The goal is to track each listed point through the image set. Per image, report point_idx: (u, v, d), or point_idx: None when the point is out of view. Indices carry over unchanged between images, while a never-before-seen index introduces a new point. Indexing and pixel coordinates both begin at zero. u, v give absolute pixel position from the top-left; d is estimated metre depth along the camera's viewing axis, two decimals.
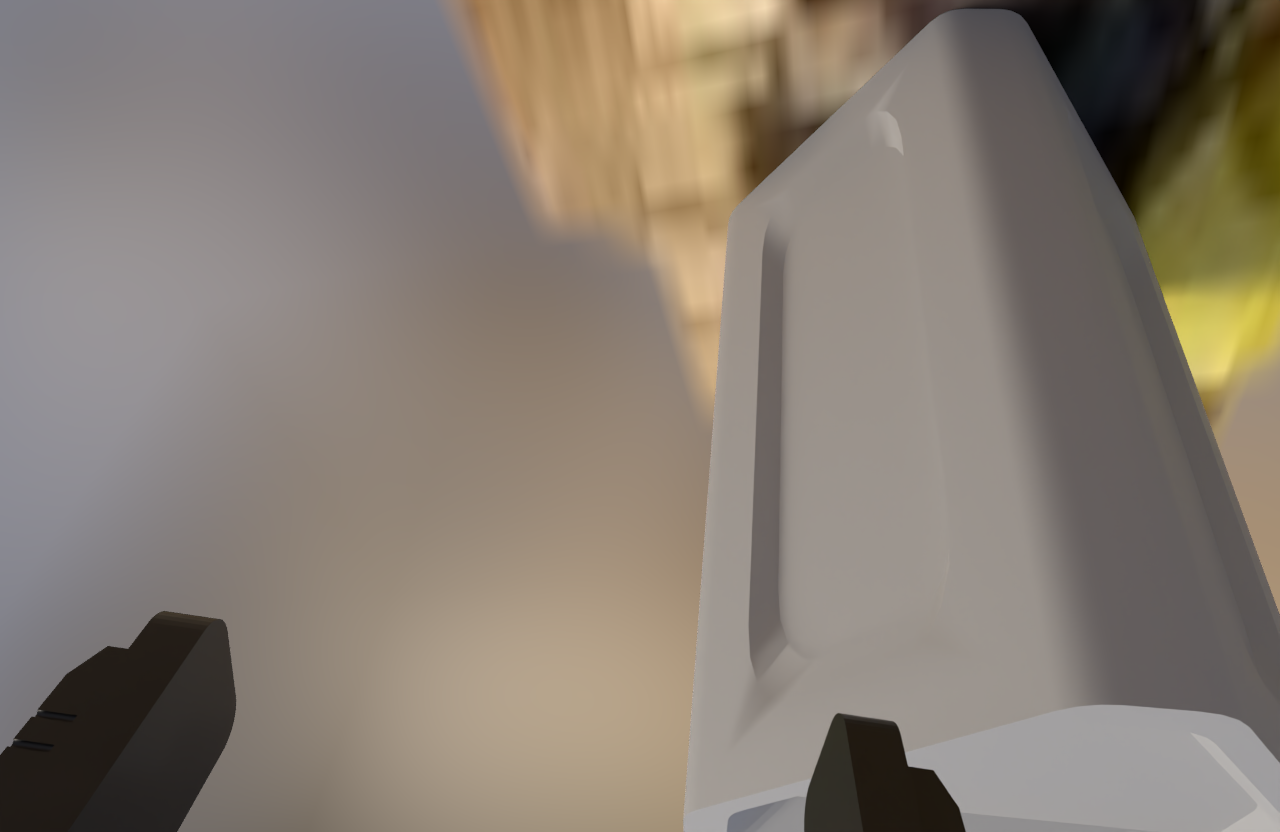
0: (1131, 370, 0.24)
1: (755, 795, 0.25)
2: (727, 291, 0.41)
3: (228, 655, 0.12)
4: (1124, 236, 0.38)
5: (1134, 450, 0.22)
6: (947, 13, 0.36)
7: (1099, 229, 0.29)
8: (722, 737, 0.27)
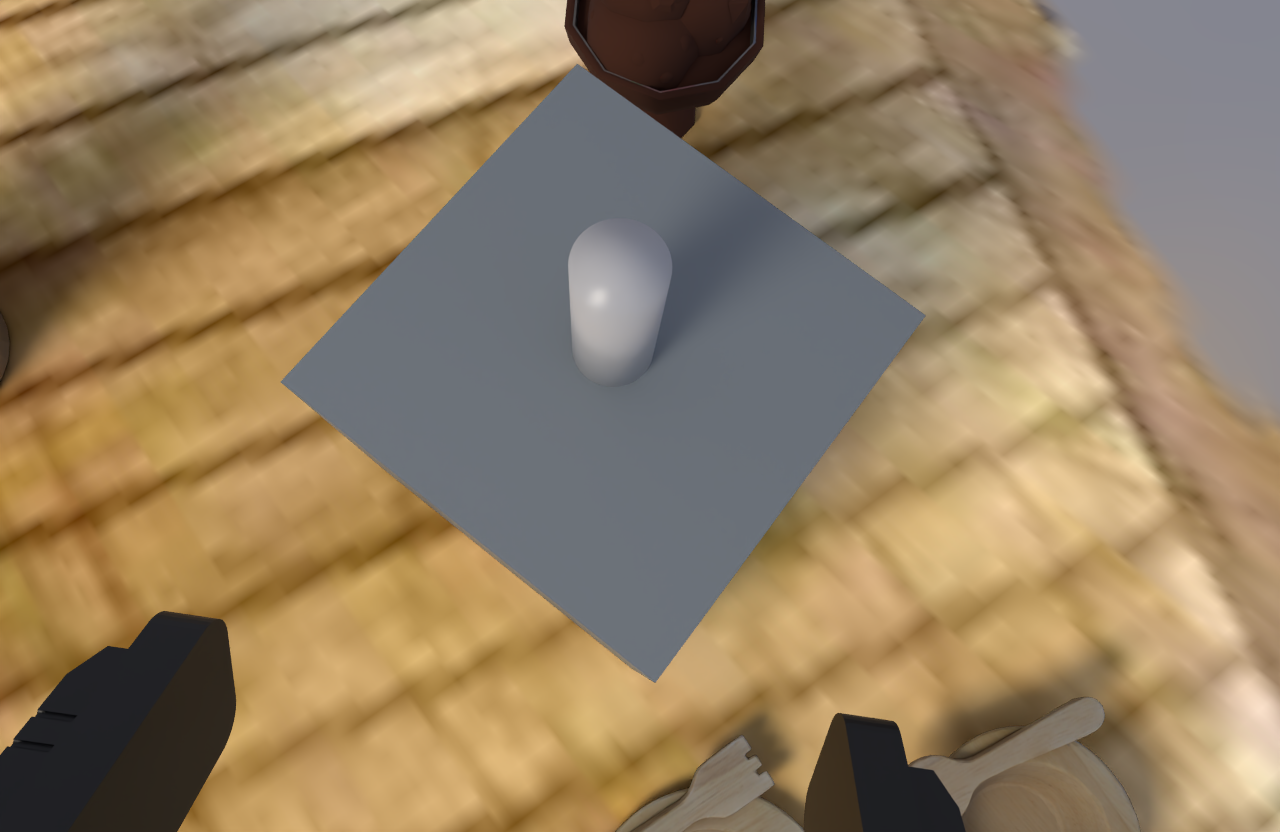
0: None
1: None
2: None
3: (228, 655, 0.12)
4: None
5: None
6: None
7: None
8: None
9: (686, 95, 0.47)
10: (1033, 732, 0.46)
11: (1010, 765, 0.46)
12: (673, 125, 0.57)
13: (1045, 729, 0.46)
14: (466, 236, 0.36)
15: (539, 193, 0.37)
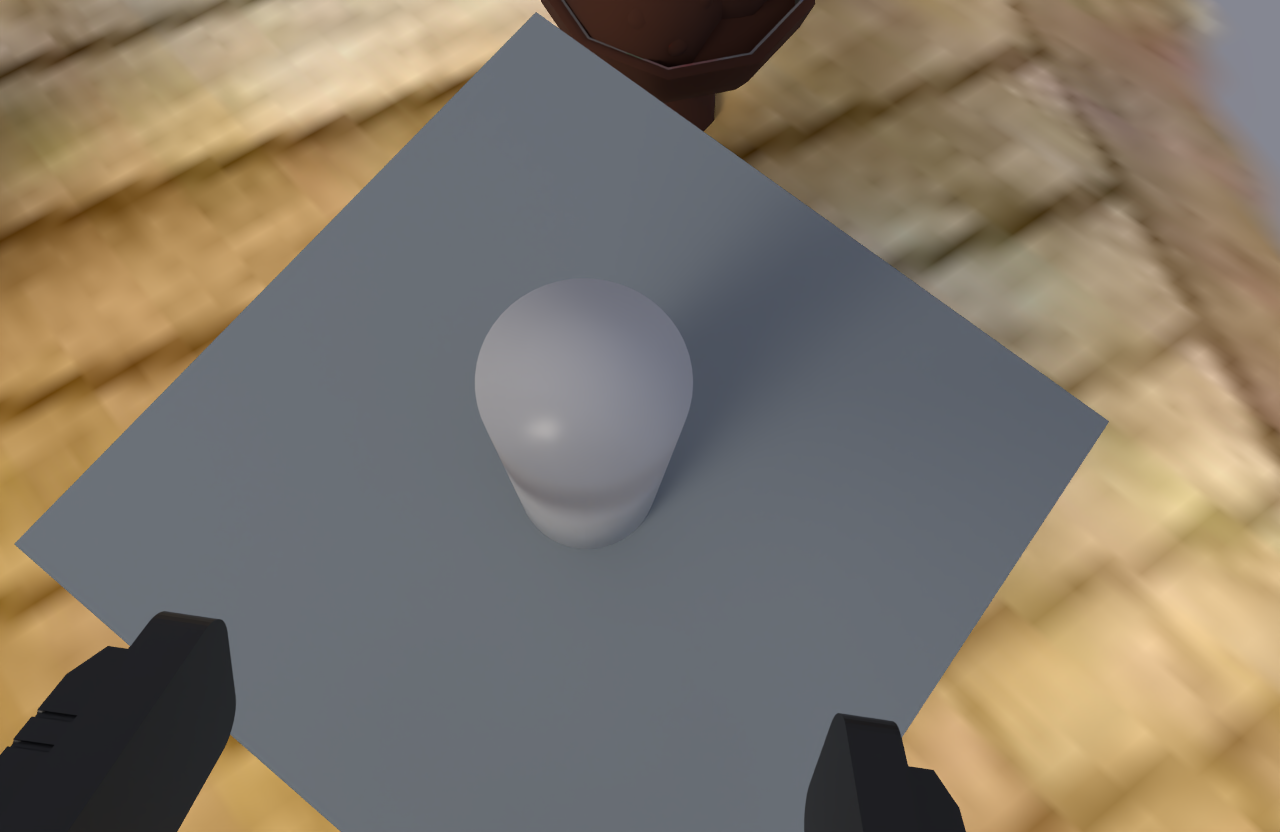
0: None
1: None
2: None
3: (228, 655, 0.12)
4: None
5: None
6: None
7: None
8: None
9: (706, 73, 0.33)
10: None
11: None
12: None
13: None
14: (346, 290, 0.22)
15: (469, 219, 0.23)
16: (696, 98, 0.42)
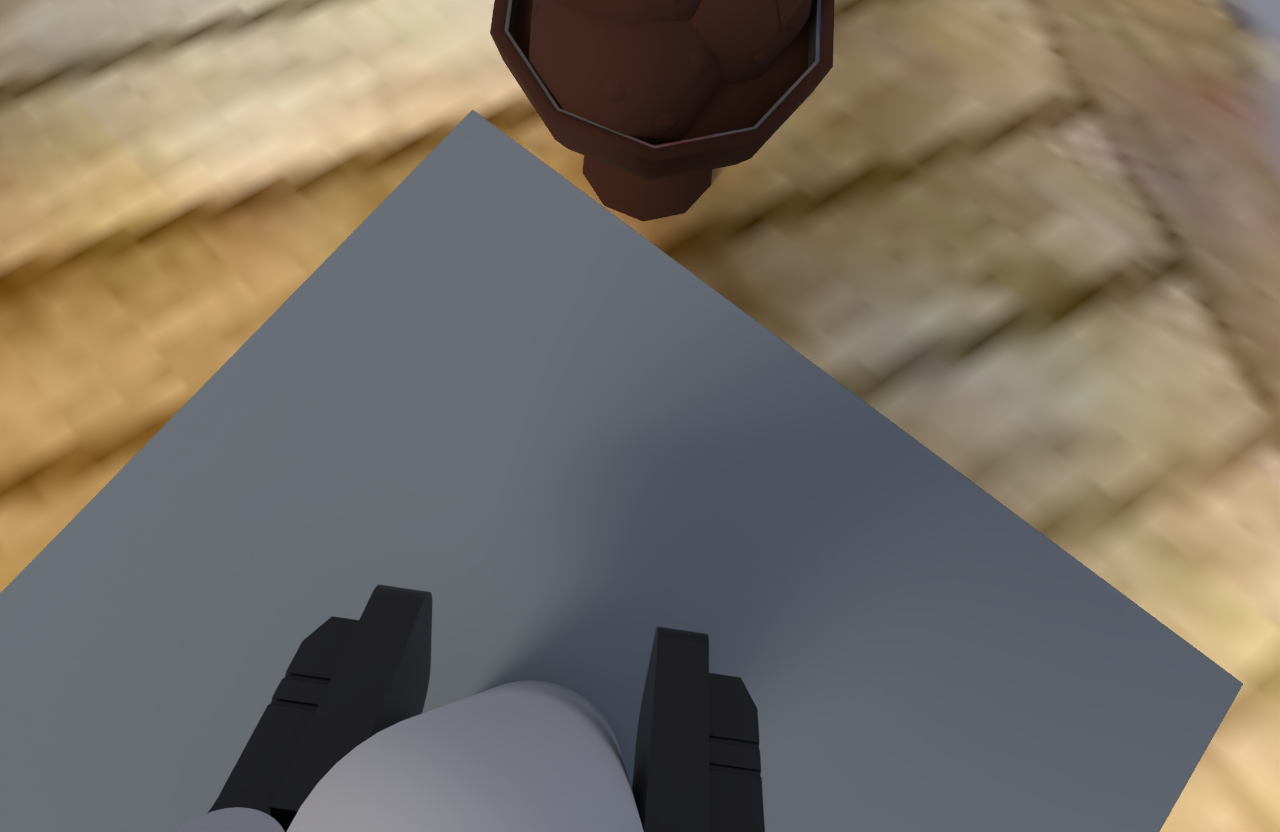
0: None
1: None
2: None
3: (430, 626, 0.13)
4: None
5: None
6: None
7: None
8: None
9: (700, 152, 0.27)
10: None
11: None
12: (678, 188, 0.36)
13: None
14: (203, 503, 0.16)
15: (376, 399, 0.17)
16: None
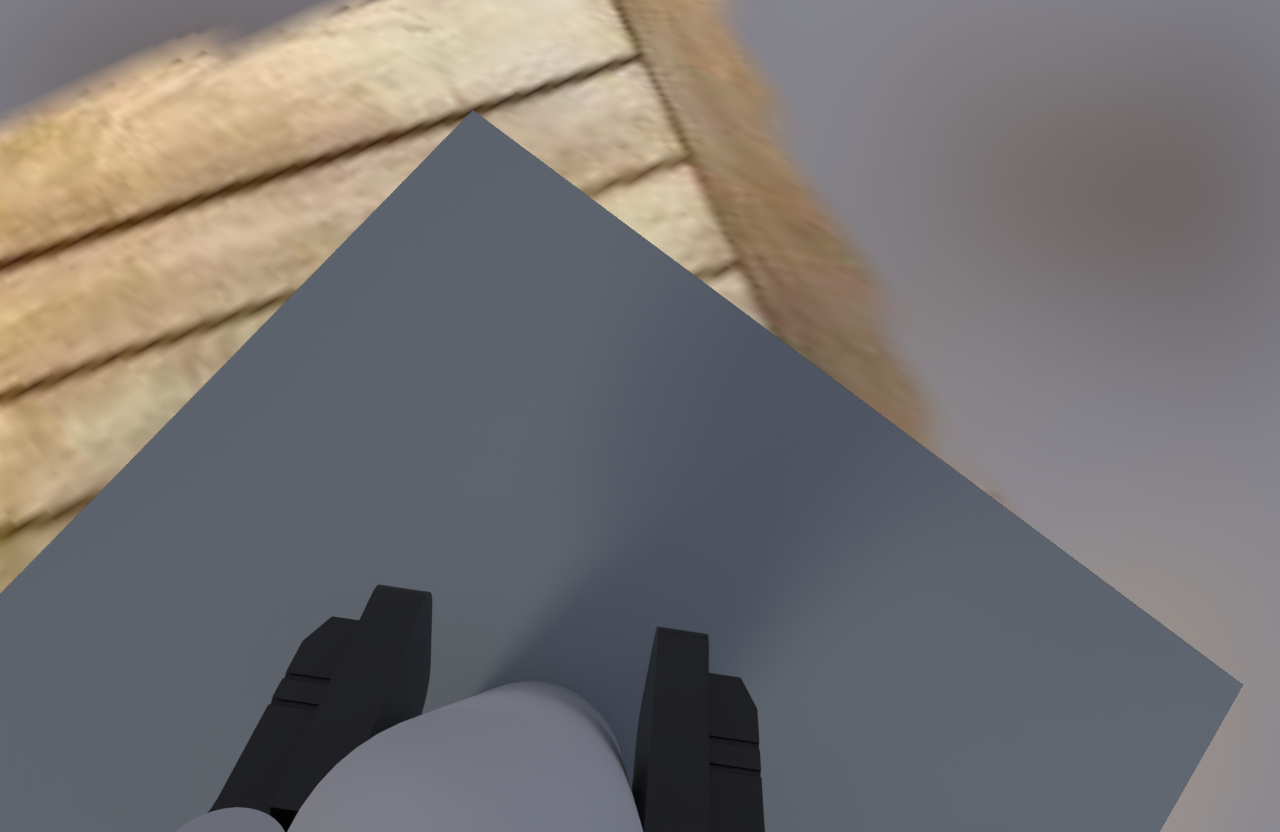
0: None
1: None
2: None
3: (430, 626, 0.13)
4: None
5: None
6: None
7: None
8: None
9: None
10: None
11: None
12: None
13: None
14: (203, 503, 0.16)
15: (376, 399, 0.17)
16: None
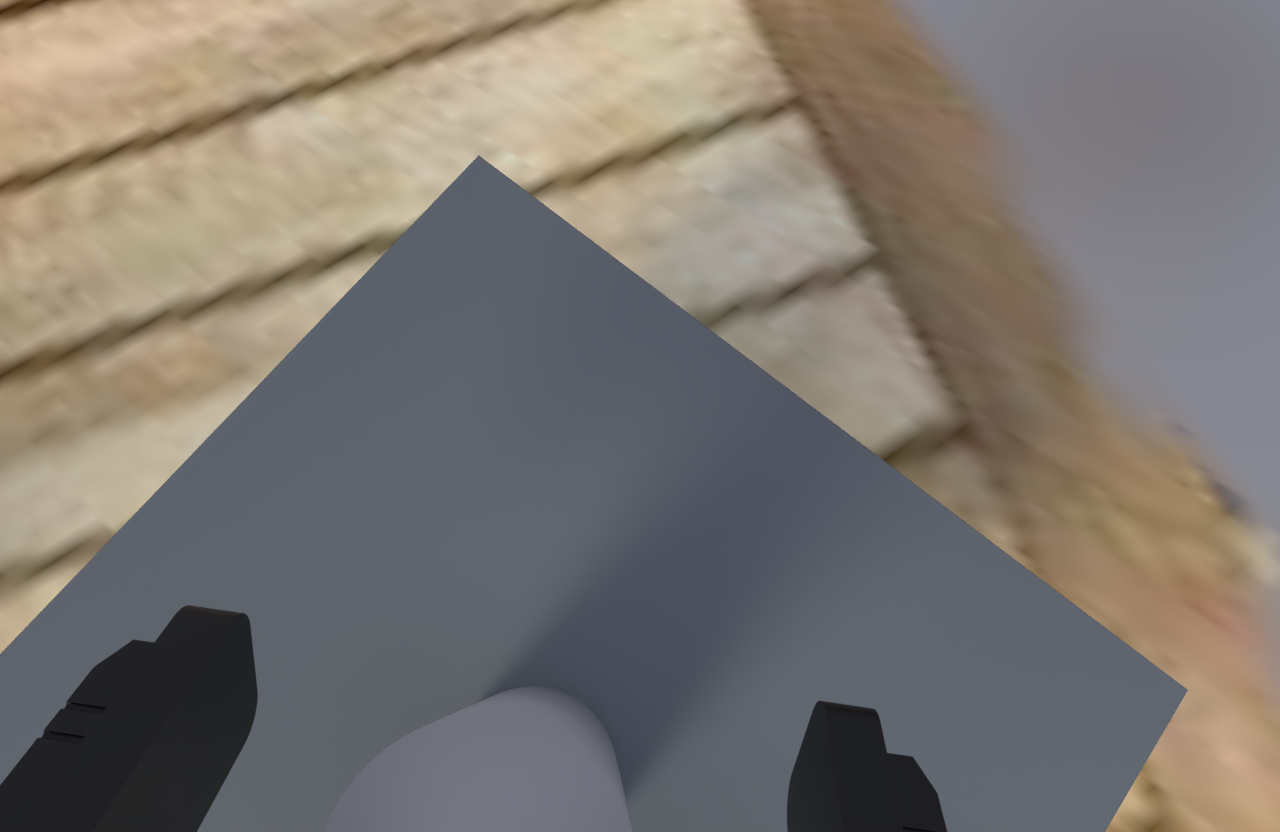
0: None
1: None
2: None
3: (250, 649, 0.12)
4: None
5: None
6: None
7: None
8: None
9: None
10: None
11: None
12: None
13: None
14: (231, 523, 0.17)
15: (389, 426, 0.18)
16: None
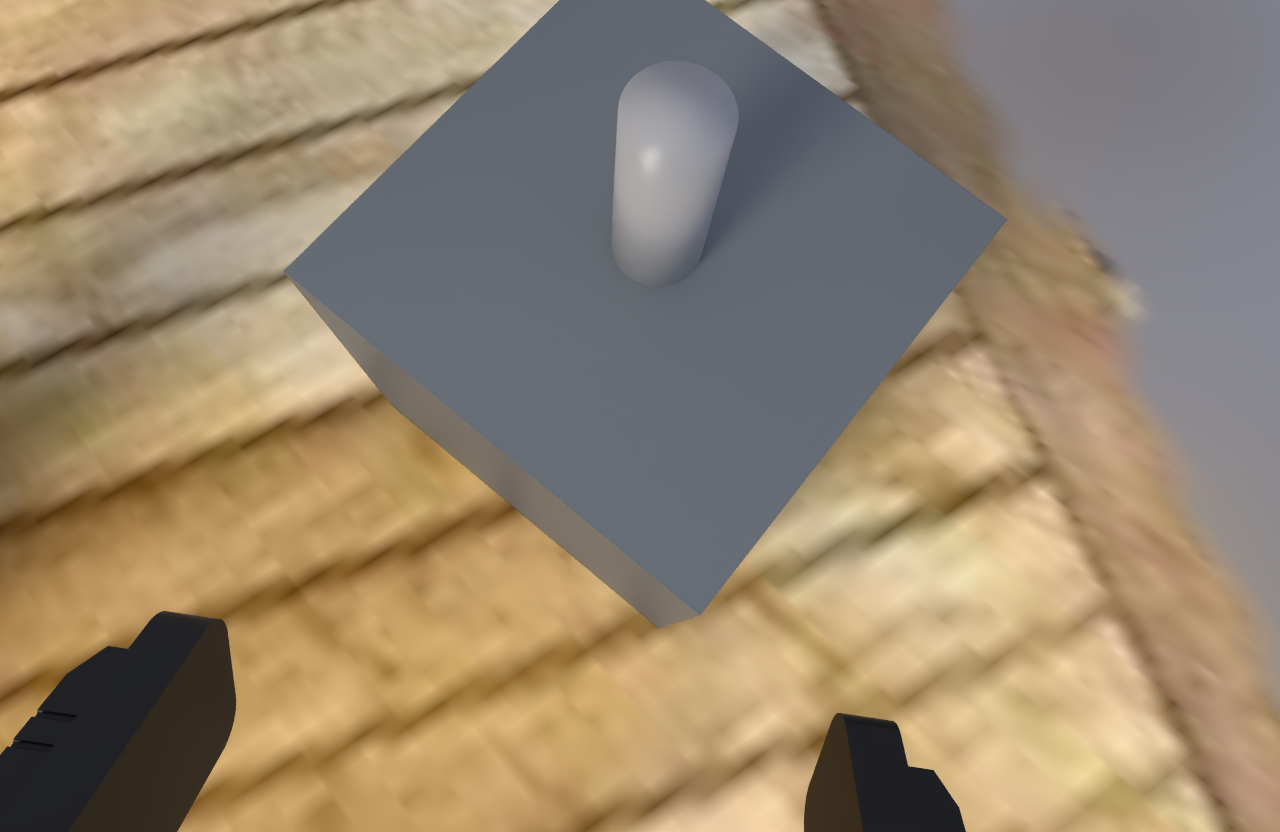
0: None
1: None
2: None
3: (227, 655, 0.12)
4: None
5: None
6: None
7: None
8: None
9: None
10: None
11: None
12: None
13: None
14: (495, 120, 0.33)
15: (577, 76, 0.33)
16: None
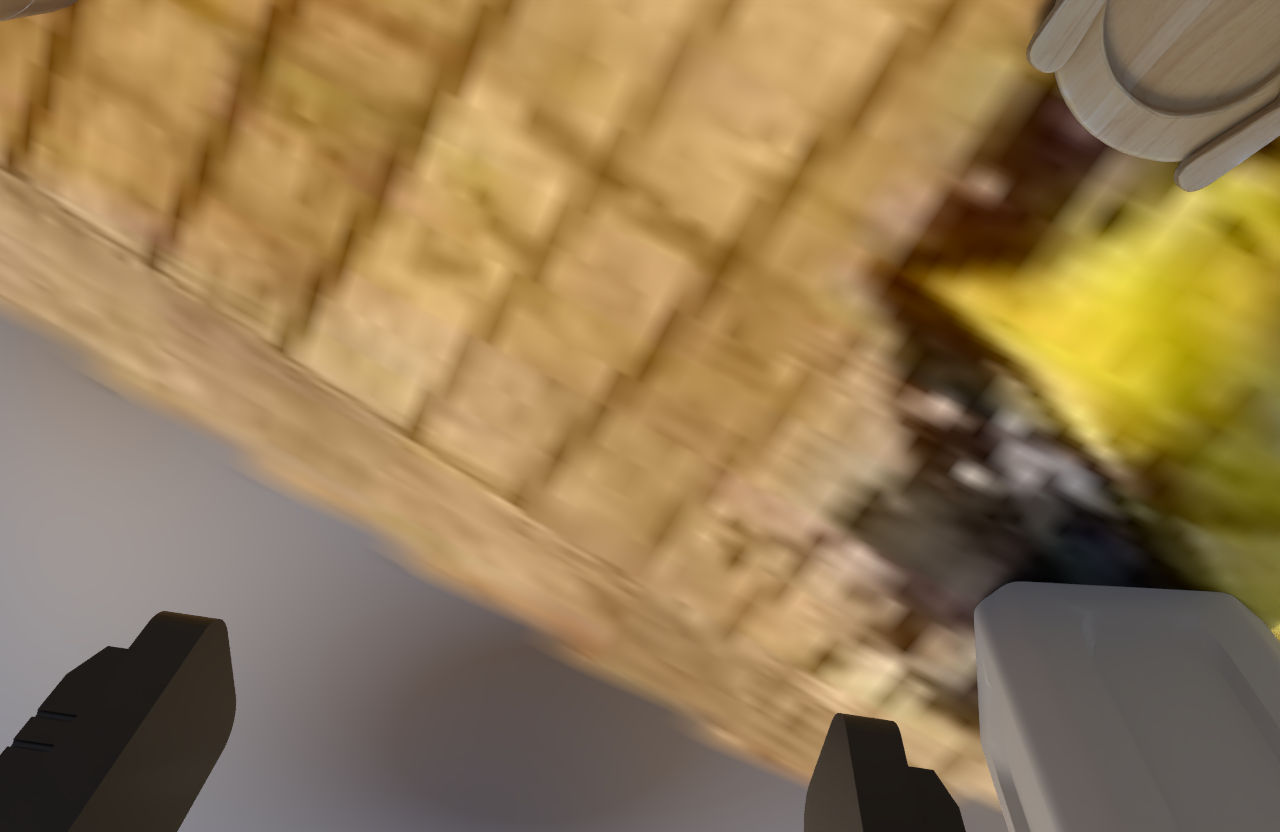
0: None
1: None
2: (1005, 818, 0.58)
3: (228, 655, 0.12)
4: (1201, 637, 0.52)
5: None
6: (977, 606, 0.57)
7: (1114, 730, 0.46)
8: None
9: None
10: None
11: None
12: None
13: None
14: None
15: None
16: None
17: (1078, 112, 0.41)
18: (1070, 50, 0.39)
